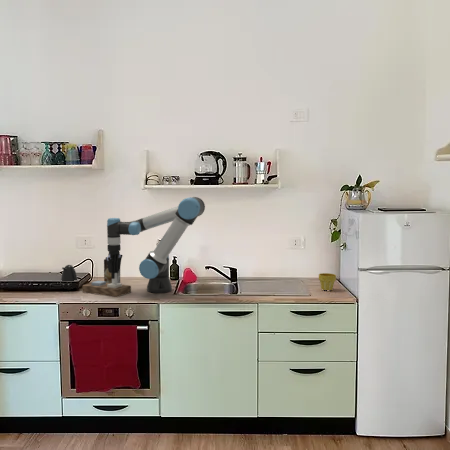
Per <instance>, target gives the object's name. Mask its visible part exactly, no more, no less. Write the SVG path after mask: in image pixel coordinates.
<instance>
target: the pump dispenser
mask: <svg viewBox="0 0 450 450" xmlns="http://www.w3.org/2000/svg"><path fill="white" fill-rule="evenodd" d="M61 268H62V269H61V270H62V273H61V276H60V277H61V278H60V281H61V280H62V281H74V280H77V279H78V274H77V271H76V269H75V268H74V266H73V265H72V264H67V265H65V266H64V267H61Z"/></svg>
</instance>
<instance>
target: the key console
mask: <svg viewBox="0 0 450 450" xmlns="http://www.w3.org/2000/svg"><path fill="white" fill-rule="evenodd" d="M107 284H111V283H106V284H105V285H102V286H95V285H92V282H89V283H86V284H83V285H82V293H87V294H88V293H89V294H95V295H100V296H101V295H102V296H109V297H117V298H118V297H121V296H124V295H127V294H129V293H132V285H126V284H122V286H121V287H118V288H110V287H107Z"/></svg>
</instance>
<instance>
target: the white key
mask: <svg viewBox="0 0 450 450" xmlns="http://www.w3.org/2000/svg"><path fill="white" fill-rule="evenodd" d="M122 285H123V283H121V282H120V283H117V284H112V283H111V284H107V287H110V288H118V287H121V286H122Z"/></svg>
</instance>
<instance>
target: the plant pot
mask: <svg viewBox="0 0 450 450" xmlns="http://www.w3.org/2000/svg"><path fill="white" fill-rule="evenodd" d="M336 279H337V275H336V274H335V273H328V272H327V273H326V272H323V273H321V272H320V273H319V274H318V281H319V283H320V289H323V290H332V289H333V290H334V286H335V285H334V284H335V282H336ZM323 290H322V291H323ZM333 290H332V291H333Z"/></svg>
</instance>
